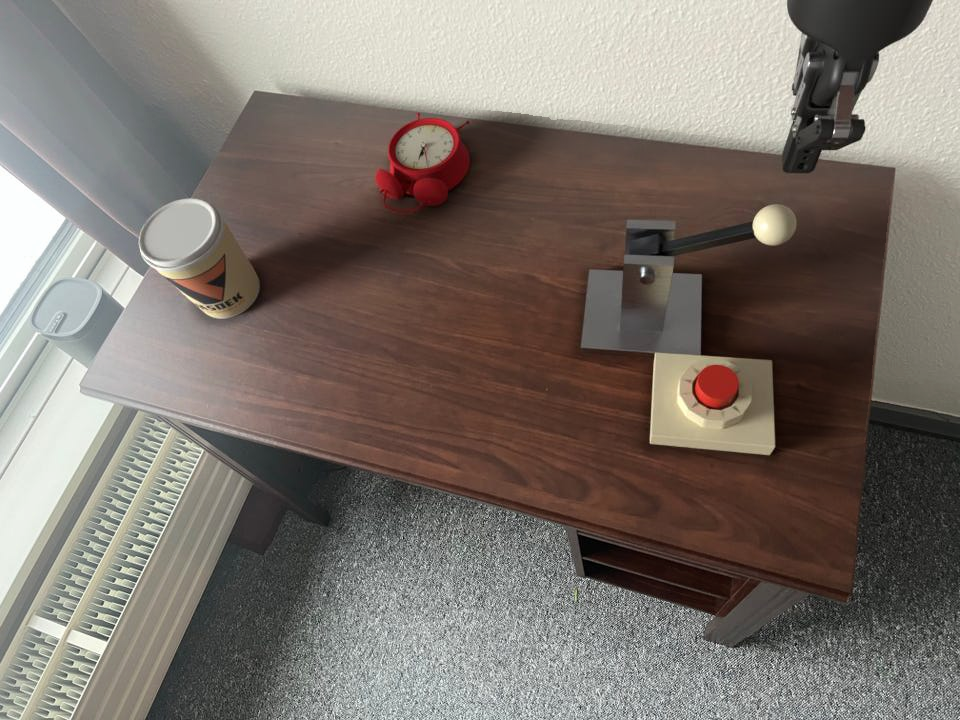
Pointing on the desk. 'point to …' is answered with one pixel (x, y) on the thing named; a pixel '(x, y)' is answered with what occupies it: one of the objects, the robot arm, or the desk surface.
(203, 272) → the cream tin can
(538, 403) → the desk surface
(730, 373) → the button
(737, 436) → the control block
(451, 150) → the alarm clock
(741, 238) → the lever
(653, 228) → the bracket
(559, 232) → the desk surface
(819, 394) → the desk surface
